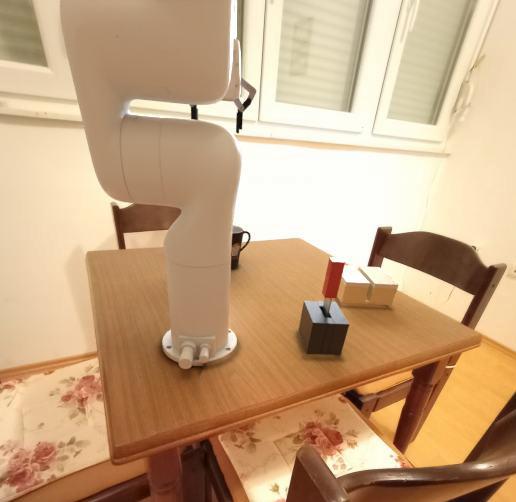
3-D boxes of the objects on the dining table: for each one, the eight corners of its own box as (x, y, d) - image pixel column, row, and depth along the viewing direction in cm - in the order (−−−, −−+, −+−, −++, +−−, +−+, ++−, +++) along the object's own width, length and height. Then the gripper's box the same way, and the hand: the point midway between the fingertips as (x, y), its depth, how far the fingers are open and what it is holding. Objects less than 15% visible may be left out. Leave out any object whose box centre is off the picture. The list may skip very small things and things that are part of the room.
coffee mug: (213, 271, 82) (213, 232, 77) (208, 260, 89) (208, 224, 84) (255, 270, 85) (258, 233, 80) (248, 260, 92) (250, 225, 87)
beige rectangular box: (390, 308, 72) (398, 284, 69) (340, 306, 71) (346, 281, 68) (372, 289, 81) (379, 267, 78) (328, 287, 80) (333, 264, 77)
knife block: (339, 359, 54) (349, 324, 50) (305, 358, 53) (312, 322, 49) (328, 334, 60) (336, 302, 56) (297, 333, 60) (303, 300, 56)
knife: (326, 346, 55) (346, 263, 47) (314, 345, 55) (333, 262, 46) (322, 336, 57) (340, 257, 49) (311, 336, 57) (328, 256, 49)
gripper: (171, 18, 60) (177, 127, 69) (261, 30, 61) (254, 134, 71) (177, 29, 66) (181, 127, 75) (258, 40, 68) (252, 134, 77)
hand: (217, 131), depth 73 cm, fingers open, 9 cm apart
